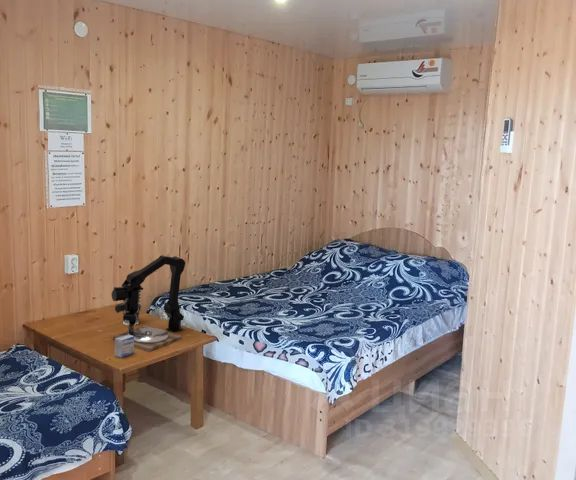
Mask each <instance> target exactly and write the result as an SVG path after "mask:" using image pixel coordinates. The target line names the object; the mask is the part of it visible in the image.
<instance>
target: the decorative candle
mask: <svg viewBox="0 0 576 480" xmlns="http://www.w3.org/2000/svg"><path fill="white" fill-rule="evenodd" d="M128 285H129V286H130V284H128ZM141 293H142V290H139V304H140V302H141V300H140V299H141ZM122 301H123V303H124V302H126V301H127V299H126V300H122ZM122 312H123V313H122V315H123V316H124V314H125V313H126V312H125V310H124V311H122ZM137 313H139V314H140V311H139V310H138V312H137ZM122 321H123V322H122V323H123V325H125V326H129V324H130V323H129V320H123V319H122ZM139 321H140V315H138V318H137V320H136V322H135V324H134V326H137V325H139ZM136 324H137V325H136Z"/></svg>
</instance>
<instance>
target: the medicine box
mask: <svg viewBox="0 0 576 480" xmlns="http://www.w3.org/2000/svg"><path fill="white" fill-rule="evenodd" d="M134 349H135V347H134V336H132V335H125V336H122V337H118V338H115V340H114V356H115V357H118V358H121V359H122V357H123V358H125V357H128V356H130V355H134Z"/></svg>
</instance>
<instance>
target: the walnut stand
mask: <svg viewBox="0 0 576 480" xmlns="http://www.w3.org/2000/svg"><path fill="white" fill-rule="evenodd" d="M139 328H156V327H153V326H152V325H144V326H141V327H138V328H137V329H139ZM165 331H166V332H167V333H168V338H167V339H166V340H164V341H162V342H158V343H138V342H134V348H137V349H140V350H142V351H146V352H148V353H149V352H152V351H155V350H157V349H160V348H162V347H165V346H167V345H170V344H172V343H175V342H178V341H180V340H182V339H183V336H182V335H180V334H176V333H175V332H169V331H168V330H165ZM128 333H129V331H127V332H123V333H121V334H117V335H114V336H113V337H112V340H114V341H115V338H118V337H122V336H125V335H128Z"/></svg>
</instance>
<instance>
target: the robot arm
mask: <svg viewBox="0 0 576 480" xmlns="http://www.w3.org/2000/svg"><path fill="white" fill-rule="evenodd" d="M165 265H168V266H169V269H170V273H171V274H170V275H171V276H170V285H169V293H168V294H169V295H168V300H167V302H164V303H163V305H164V307H163V310H164V313H165V314H166V316H167V317H168V318H169V319H168V327H167V328H165V329H166V330H165V331H171V332H172V333H177V332H180V331H181V330H183V328H182V326H181V325H182V321H183V320H184V318H185V315H183V314H182V313H181V307H180V303H179V297H180V296H179V295H180V293H179V292H180V285H181V276H182V274H183V272H184V271H185V266H186V261H185V259H183V258H181V257H179V256H175V255H174V256H167V255H159V257H158V258H156V259H154V260H153V261H151V262H150V263H149V264H147V265H145V266H144V267H143V268H141V269H139V270H135V271H132V272H131V273H128V275H126V278H125V280H124V281H123V283H122V284H121V286H114V287H113V289H112V292H111V299H112V301H114V302H118V301H123V300H126V299H127V301H126V302H124V301H123V302H121V303H117V304H115V306H114V311H115V312H116V313H117V314H119V313H120V312H123V311H124V310H125V312H126V313H125V314H124V315H123V316H122V321H123V320H129V323H130V324H135V322H136V320H137V318H138V316H140V312H141V311H142V305H141V304H140V303H139V301H140V299H139V297H140V296H139V294H140V293H139V290H140V291H143V290H144V287H142V284H143V283H144V282H145V280H146V278H147V277H149V276H151V274H153V273H154V272H156V271H157V270H160V268H163V267H164V266H165ZM128 284H130V286H129V285H128ZM138 310H139V313H137V312H138Z"/></svg>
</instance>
